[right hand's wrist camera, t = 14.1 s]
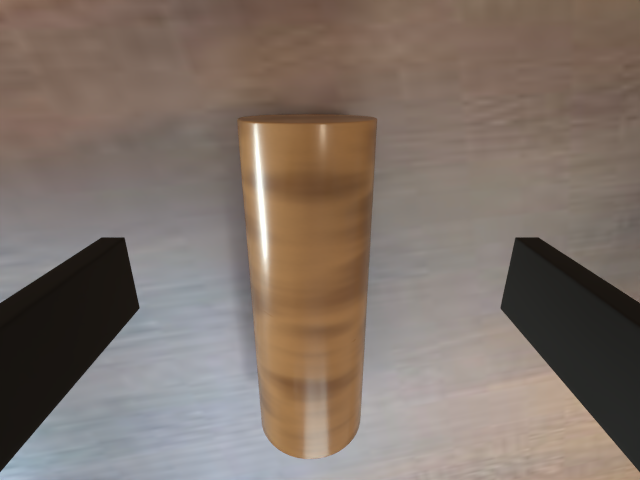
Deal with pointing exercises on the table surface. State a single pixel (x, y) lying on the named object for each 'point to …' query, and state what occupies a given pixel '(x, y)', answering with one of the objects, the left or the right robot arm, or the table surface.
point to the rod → (309, 272)
